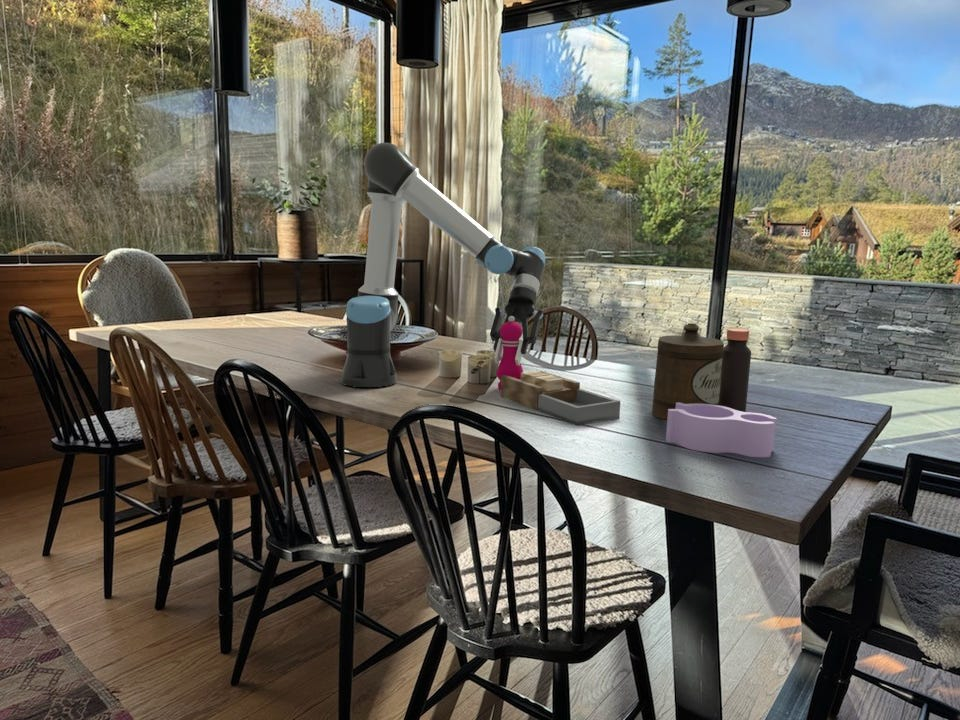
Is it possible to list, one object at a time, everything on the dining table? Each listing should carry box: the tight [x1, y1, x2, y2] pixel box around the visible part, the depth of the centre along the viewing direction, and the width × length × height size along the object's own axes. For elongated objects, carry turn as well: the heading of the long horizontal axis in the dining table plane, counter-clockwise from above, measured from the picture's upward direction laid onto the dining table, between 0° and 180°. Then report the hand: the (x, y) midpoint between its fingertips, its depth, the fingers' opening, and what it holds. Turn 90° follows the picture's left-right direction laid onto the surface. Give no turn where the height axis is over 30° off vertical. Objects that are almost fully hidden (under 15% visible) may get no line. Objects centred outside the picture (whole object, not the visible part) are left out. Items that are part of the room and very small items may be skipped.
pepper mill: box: [496, 316, 524, 391], centre depth 181 cm, size 7×7×20 cm
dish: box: [537, 388, 621, 426], centre depth 159 cm, size 14×13×4 cm
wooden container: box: [651, 322, 725, 421], centre depth 158 cm, size 15×15×22 cm
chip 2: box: [535, 375, 564, 391], centre depth 167 cm, size 5×5×2 cm
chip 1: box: [521, 370, 549, 385], centre depth 172 cm, size 5×5×2 cm
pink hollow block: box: [665, 402, 777, 458], centre depth 137 cm, size 20×12×7 cm, turn 60°
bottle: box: [718, 328, 752, 412], centre depth 163 cm, size 7×7×20 cm
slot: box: [500, 370, 581, 411], centre depth 171 cm, size 16×13×6 cm
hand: (506, 361), depth 178 cm, fingers closed on pepper mill, 5 cm apart
